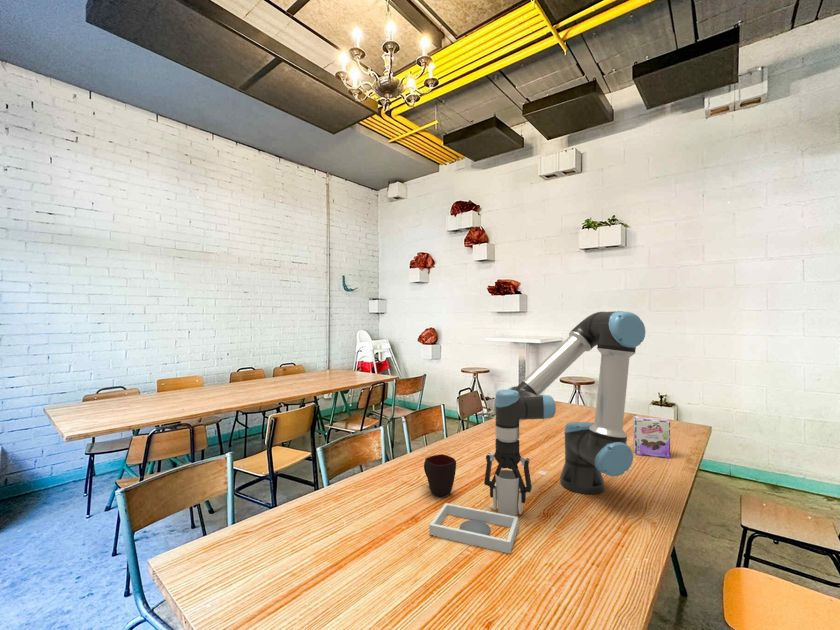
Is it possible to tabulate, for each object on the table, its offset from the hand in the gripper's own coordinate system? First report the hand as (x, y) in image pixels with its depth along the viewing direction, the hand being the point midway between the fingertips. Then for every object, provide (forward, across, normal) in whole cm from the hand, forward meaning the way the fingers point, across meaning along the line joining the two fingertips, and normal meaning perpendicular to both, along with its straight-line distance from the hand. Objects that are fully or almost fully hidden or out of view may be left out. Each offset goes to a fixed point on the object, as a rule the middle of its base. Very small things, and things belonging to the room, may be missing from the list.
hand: (507, 509), depth 124 cm
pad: (+1, +7, +14) cm, 16 cm away
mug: (+1, +26, -5) cm, 26 cm away
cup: (+1, 0, 0) cm, 1 cm away
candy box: (+1, -51, -76) cm, 92 cm away
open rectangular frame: (+1, +7, +15) cm, 17 cm away
